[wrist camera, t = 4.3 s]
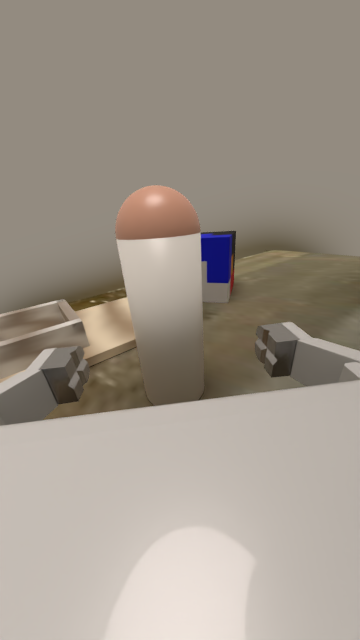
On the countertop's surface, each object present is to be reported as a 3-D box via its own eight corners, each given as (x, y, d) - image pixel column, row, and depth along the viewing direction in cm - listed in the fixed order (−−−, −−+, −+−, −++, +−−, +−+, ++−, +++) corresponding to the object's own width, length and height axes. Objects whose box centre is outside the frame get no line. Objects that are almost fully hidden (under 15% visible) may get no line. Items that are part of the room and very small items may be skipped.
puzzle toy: (227, 303, 34) (229, 236, 29) (169, 300, 37) (163, 239, 32) (233, 284, 42) (235, 230, 38) (185, 283, 45) (182, 233, 41)
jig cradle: (131, 301, 37) (126, 279, 35) (178, 328, 27) (175, 299, 25) (-33, 350, 26) (-51, 321, 24) (-60, 429, 16) (-95, 389, 14)
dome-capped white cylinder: (193, 362, 21) (184, 189, 14) (214, 400, 16) (214, 175, 10) (142, 373, 20) (108, 193, 13) (149, 417, 15) (103, 179, 9)
